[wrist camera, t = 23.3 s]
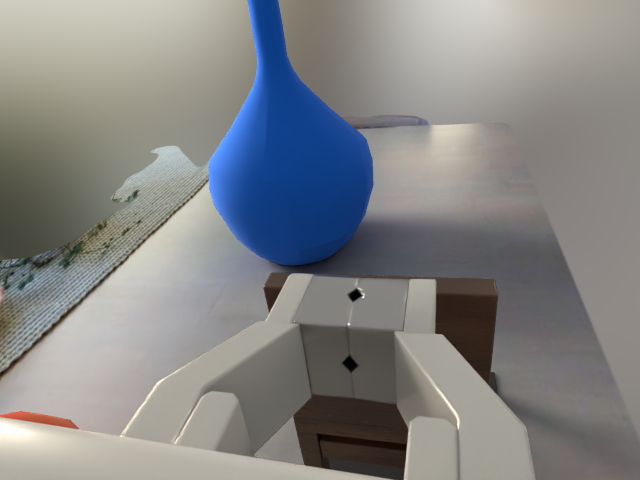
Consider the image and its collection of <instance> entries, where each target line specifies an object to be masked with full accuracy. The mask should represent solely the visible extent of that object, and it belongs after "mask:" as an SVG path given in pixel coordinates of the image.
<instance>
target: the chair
mask: <svg viewBox="0 0 640 480" xmlns="http://www.w3.org/2000/svg"><path fill="white" fill-rule="evenodd" d="M291 274H293V273H271V274H270V276H269V277H268V279H267V281H266V283H265V285H264V287H263V288H264V292H265V297H266V301H267V305H268V310H269V313H270V311H271V309H272V307H273V305H274V303H275V301H276V300H277V298H278V296H279V294H280V292H281V290H282V288H283V286H284V284H285V282H286V280H287V278H288V276H289V275H291ZM300 274H306V273H300ZM314 275H315V274H314ZM319 275H334V276H349V277H361V278H380V279H409V280H410V279H435V280H436V317H435V334H442V335H444V336H445V338H446V339H447V340H448V341H449V342H450V343H451V344H452V345H453V346H454V348H455V349H456V350H457V351H458V352H459V353H460V354H461V355H462V356H463V358H464V359H465V360H466V361H467V362H468V363H469V364H470V365H471V366H472V368H473V369H474V370H475V371H476V372H477V373H478V374H479V375H480V376H481V378H482V379H483V380H484V381H485V382H486V383H487V384H488V385H489V383H490V373H491V363H492V353H493V343H494V333H495V322H496V312H497V302H498V293H497V287H496V282H495V279H483V278H448V277H412V276H377V275H341V274H319ZM311 396H312V397H311V398H310V399H309V400H308V401H307V402H306V403H305V404H304V405H303V406H302V407H301V408H300V409H299V410H298V411H297V412H296V413H295V414H294V415H293V418H294V423H295V427H296V431H297V435H298V439H299V444H300V448H301V452H302V457H303V461H304V465H305V466H311V467H317V468H324V469H330V464H329V459H336V460H343V461H351V462H358V463H366V464H373V465H381V466H388V467H396V468H403V469H405V462H406V452H407V442H408V431H409V429H408V427H407V425H406V423H405V421H404V419H403V417H402V415H401V413H400V411H399V410H398V408H397V404H390V403H383V402H376V401H369V400H362V399H355V398H345V397H334V396H322V395H311ZM330 470H331V469H330Z"/></svg>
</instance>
